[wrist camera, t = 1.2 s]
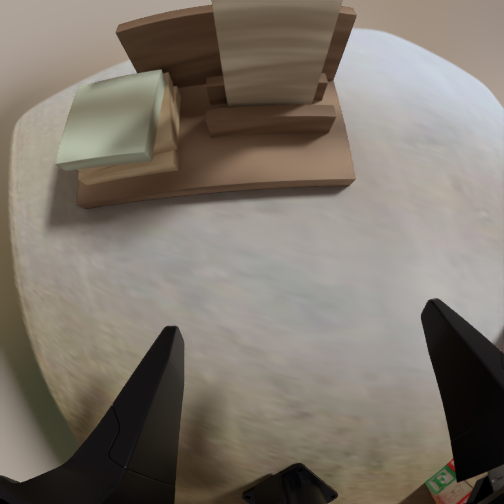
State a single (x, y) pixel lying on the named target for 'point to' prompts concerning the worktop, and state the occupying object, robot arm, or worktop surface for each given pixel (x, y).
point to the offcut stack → (122, 128)
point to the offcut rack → (230, 119)
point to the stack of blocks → (450, 486)
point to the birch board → (273, 48)
